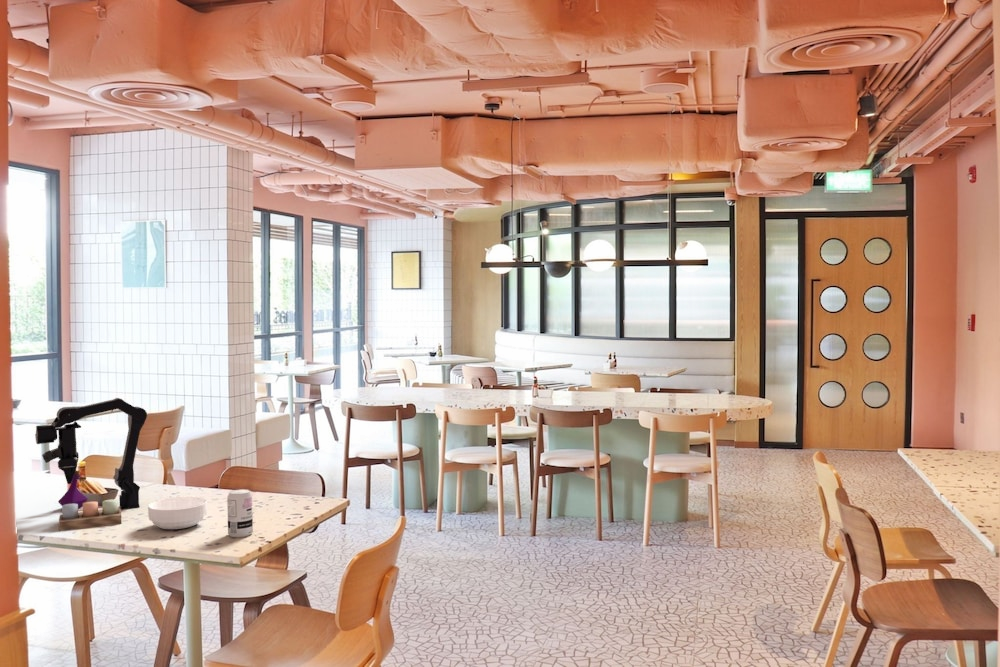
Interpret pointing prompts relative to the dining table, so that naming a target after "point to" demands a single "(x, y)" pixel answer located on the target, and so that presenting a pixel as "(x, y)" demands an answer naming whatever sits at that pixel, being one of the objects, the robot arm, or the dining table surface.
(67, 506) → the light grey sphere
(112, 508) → the pale green rounded cube
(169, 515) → the bowl
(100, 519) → the wooden compartment tray
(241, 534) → the supplement can
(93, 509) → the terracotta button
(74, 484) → the perfume bottle
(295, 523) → the dining table surface
